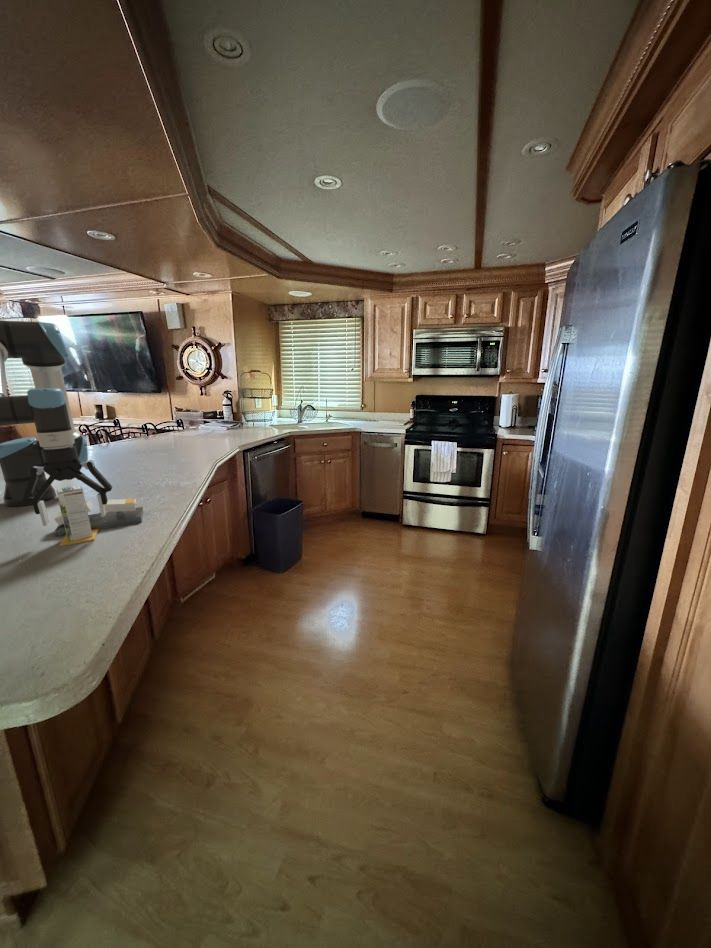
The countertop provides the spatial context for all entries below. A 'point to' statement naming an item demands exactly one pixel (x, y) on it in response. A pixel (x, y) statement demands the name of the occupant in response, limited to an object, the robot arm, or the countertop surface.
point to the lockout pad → (66, 542)
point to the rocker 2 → (120, 505)
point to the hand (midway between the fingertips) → (75, 519)
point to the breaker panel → (109, 520)
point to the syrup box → (74, 513)
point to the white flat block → (59, 516)
